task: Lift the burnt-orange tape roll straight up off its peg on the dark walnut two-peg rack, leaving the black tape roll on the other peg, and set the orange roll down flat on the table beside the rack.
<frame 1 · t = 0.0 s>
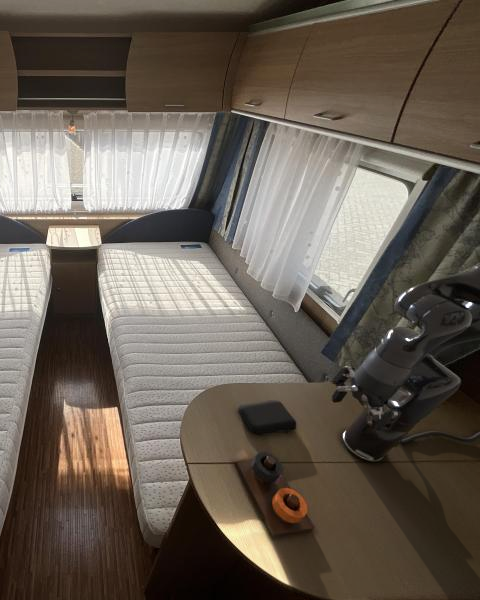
hand: (348, 415, 82), 17 cm above the table, tool pointing down, fingers open, 8 cm apart
carrying case: (265, 421, 101), on the table
black tape: (264, 469, 85), point 4 cm above the table, touching tape rack
orange tape: (286, 507, 78), point 4 cm above the table, touching tape rack
tape rack: (270, 494, 84), on the table
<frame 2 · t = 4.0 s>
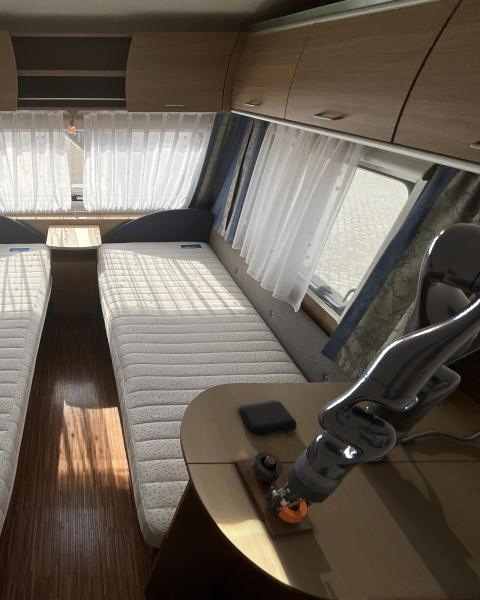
hand: (286, 509, 78), 3 cm above the table, tool pointing down, fingers closed on orange tape, 6 cm apart
orange tape: (286, 507, 78), point 4 cm above the table, touching gripper, tape rack
everything else where it was.
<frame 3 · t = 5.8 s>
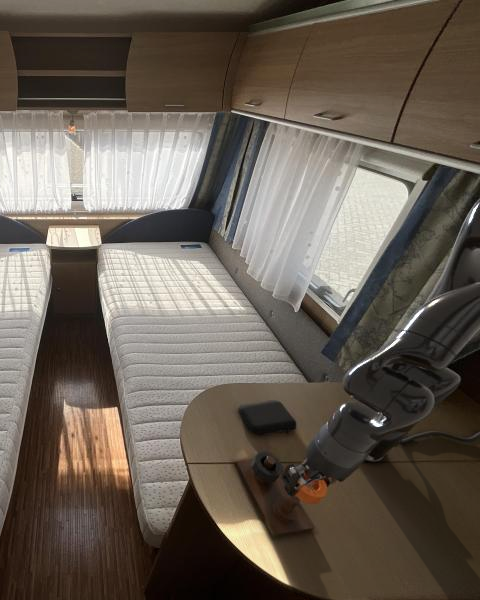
hand: (303, 489, 72), 13 cm above the table, tool pointing down, fingers closed on orange tape, 6 cm apart
orange tape: (304, 488, 72), point 13 cm above the table, touching gripper
everything else where it was.
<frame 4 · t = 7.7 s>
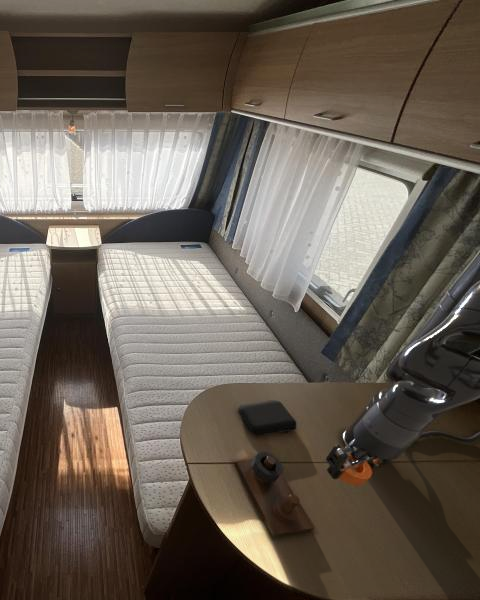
hand: (345, 472, 73), 15 cm above the table, tool pointing down, fingers closed on orange tape, 6 cm apart
orange tape: (347, 471, 72), point 16 cm above the table, touching gripper
everything else where it was.
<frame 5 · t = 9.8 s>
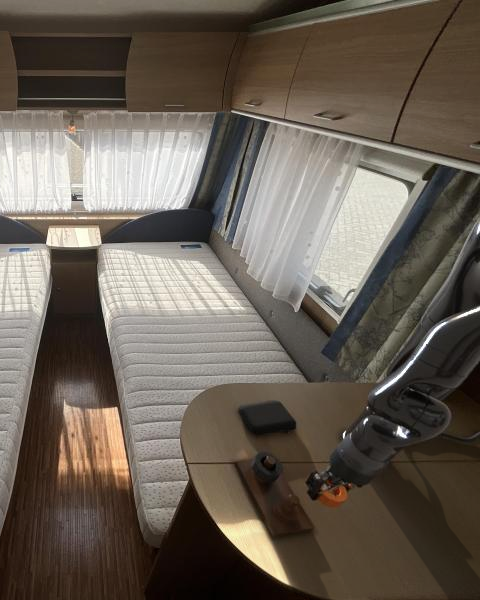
hand: (324, 494, 79), 5 cm above the table, tool pointing down, fingers closed on orange tape, 6 cm apart
orange tape: (325, 493, 79), point 6 cm above the table, touching gripper
everything else where it was.
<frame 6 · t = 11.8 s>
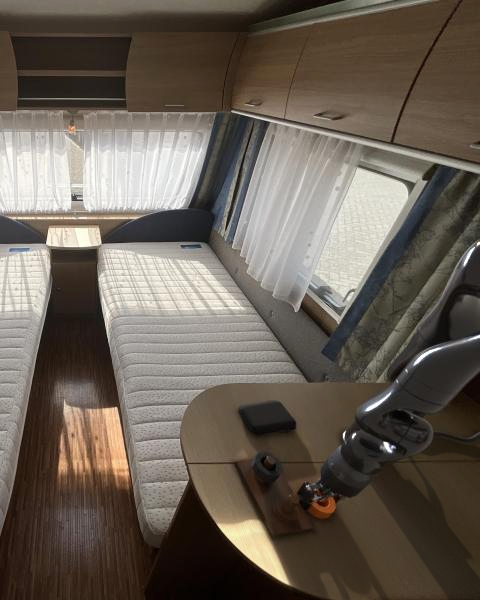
hand: (315, 504, 82), 0 cm above the table, tool pointing down, fingers closed on orange tape, 6 cm apart
orange tape: (315, 504, 82), on the table, touching gripper
everything else where it was.
when the fingers open (0 cm above the table, at t = 11.8 s): orange tape stays where it is, on the table.
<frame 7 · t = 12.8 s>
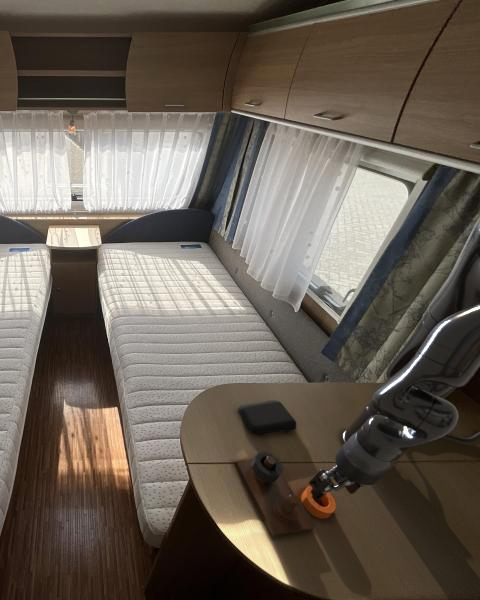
hand: (331, 492, 78), 6 cm above the table, tool pointing down, fingers open, 8 cm apart
orange tape: (315, 504, 82), on the table
everything else where it was.
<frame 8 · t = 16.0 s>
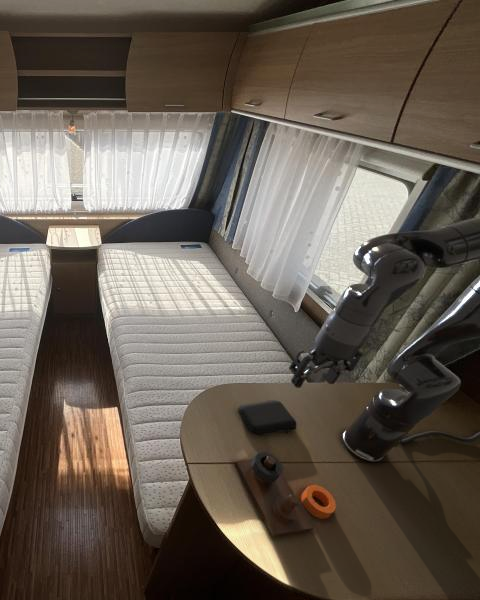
hand: (311, 383, 79), 26 cm above the table, tool pointing down, fingers open, 8 cm apart
nothing on the table moved.
at the end: orange tape inside the target area (0.3 cm from its centre), on the table; orange tape tilted 0°; black tape moved 0.0 cm from its start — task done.
